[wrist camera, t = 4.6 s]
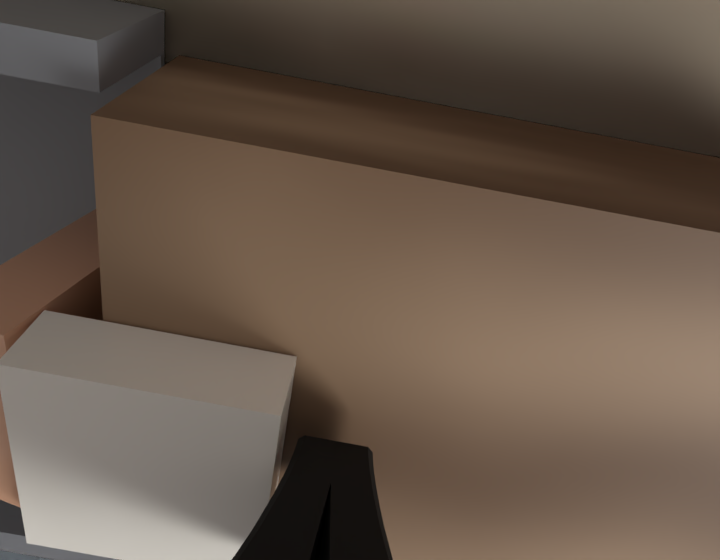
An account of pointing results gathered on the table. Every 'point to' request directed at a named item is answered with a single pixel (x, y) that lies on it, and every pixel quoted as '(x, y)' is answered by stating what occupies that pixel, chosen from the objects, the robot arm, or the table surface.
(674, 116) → the table surface
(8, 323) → the terracotta tile
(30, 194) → the tray
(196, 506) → the cream tile
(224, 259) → the brown block
